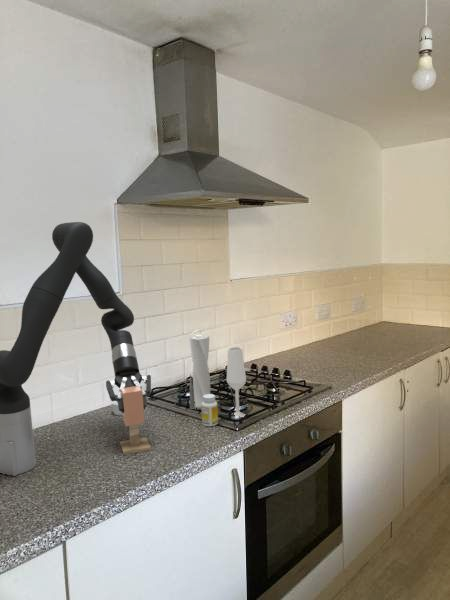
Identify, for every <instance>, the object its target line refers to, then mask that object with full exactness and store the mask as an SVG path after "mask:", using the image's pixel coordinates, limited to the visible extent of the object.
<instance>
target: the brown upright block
mask: <svg viewBox="0 0 450 600" xmlns="http://www.w3.org/2000/svg"><path fill="white" fill-rule="evenodd" d="M142 389H143V388H142ZM142 389H141V388H140V386H139V387H137V386H133V387H126V388H124V389H121V393H122V399H123V405H124V413H123V415H122V420H123V423H124V426H125V427H129V426H131V425H136V424H139V425H142V424H145V423H146V422H145V421H146V420H145V409H144V407H143V394H142Z"/></svg>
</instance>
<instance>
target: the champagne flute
mask: <svg viewBox="0 0 450 600" xmlns="http://www.w3.org/2000/svg"><path fill="white" fill-rule="evenodd" d="M244 360H245V359H244V353H243V347H239V346H232V347H228V348H227V366H226V383H227V385H229V387H230V388H232V389H233V390H234V393H235V395H234V396H235V397H234V399H235V412H233V413H234V415H235V416H240V417H244V416H245V415H246V414H245V413H243V412H241V411H240V395H239V394H240V392H239V390H240V389H242V387H244V386H245V384H246V383H247V377H246V369H245V361H244Z"/></svg>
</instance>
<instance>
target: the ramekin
mask: <svg viewBox="0 0 450 600" xmlns="http://www.w3.org/2000/svg"><path fill="white" fill-rule="evenodd" d="M111 406H112V410H113V414H114V415H116V416H123V413H122V412H121V411H119V408H118V402H117V401H111Z"/></svg>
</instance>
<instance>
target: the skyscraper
mask: <svg viewBox="0 0 450 600" xmlns="http://www.w3.org/2000/svg"><path fill="white" fill-rule="evenodd" d="M196 332H199V334H195V336H192V335H193V334H194V333H196ZM188 339H189V340H188V341H189V346H190V353H191V359H192V365H193V366H192V374H190V375H189V376H190V379H189V410H190V409H195V410H202V408H201V404H202V402H203V396H204V395H206V394H211V377H210V369H209V365H208V364H209V362H208V361H209V352H210V335H204V336H203V334H202V329H200V328H199V329H196V330H194V331H192V332H191V334H190V335H189V338H188ZM194 402H195V403H194ZM196 408H197V409H196Z"/></svg>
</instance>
